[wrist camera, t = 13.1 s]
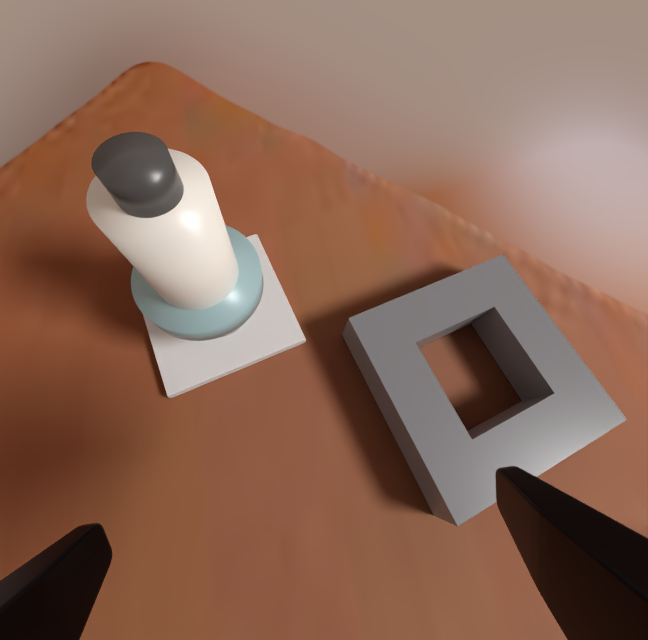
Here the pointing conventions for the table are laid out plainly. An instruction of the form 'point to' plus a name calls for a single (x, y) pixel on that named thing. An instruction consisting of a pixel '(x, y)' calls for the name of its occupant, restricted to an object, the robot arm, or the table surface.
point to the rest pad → (229, 340)
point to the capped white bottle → (173, 238)
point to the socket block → (515, 362)
